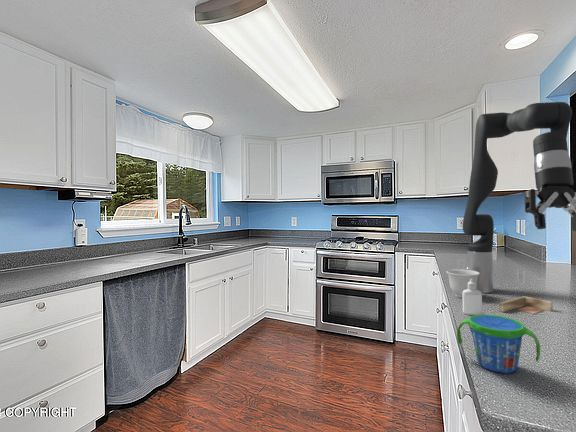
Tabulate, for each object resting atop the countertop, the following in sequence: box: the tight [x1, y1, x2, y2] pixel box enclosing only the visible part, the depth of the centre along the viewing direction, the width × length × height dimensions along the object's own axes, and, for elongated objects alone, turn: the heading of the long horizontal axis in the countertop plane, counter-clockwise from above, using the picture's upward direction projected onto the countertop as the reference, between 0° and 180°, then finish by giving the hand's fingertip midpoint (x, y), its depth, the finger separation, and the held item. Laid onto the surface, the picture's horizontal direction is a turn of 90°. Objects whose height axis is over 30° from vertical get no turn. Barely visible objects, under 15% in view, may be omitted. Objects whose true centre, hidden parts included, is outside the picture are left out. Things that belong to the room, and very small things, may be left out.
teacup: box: [445, 268, 480, 299], centre depth 125 cm, size 12×15×10 cm
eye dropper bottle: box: [461, 279, 483, 316], centre depth 103 cm, size 4×6×12 cm
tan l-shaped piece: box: [498, 295, 554, 315], centre depth 104 cm, size 9×16×3 cm, turn 117°
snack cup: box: [456, 314, 541, 375], centre depth 69 cm, size 16×10×10 cm
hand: (559, 229), depth 78 cm, fingers open, 8 cm apart
